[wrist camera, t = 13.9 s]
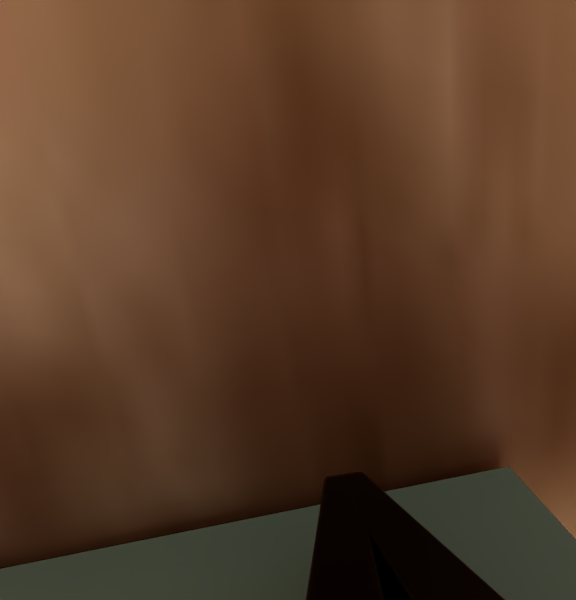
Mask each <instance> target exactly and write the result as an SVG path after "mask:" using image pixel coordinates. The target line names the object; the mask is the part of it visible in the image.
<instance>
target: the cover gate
mask: <svg viewBox="0 0 576 600" xmlns="http://www.w3.org/2000/svg"><path fill="white" fill-rule="evenodd" d="M385 493H386V494H387V495H389V496H390V497H391V498H392V499H393V500H394V501H395V502H396V503H398V504H399V505H400V506H401V507H402V508H403V509H404V510H405V511H406V512H408V513H409V514H410V515H411V516H412V517H413V518H414V519H415V520H417V521H418V522H419V523H420V524H421V525H422V526H423V527H424V528H426V529H427V530H428V531H429V532H430V533H431V534H432V535H433V536H434V537H436V538H437V539H438V540H439V541H440V542H441V543H442V544H443V545H445V546H446V547H447V548H448V549H449V550H450V551H451V552H452V553H453V554H455V555H456V556H457V557H458V558H459V559H460V560H461V561H462V562H464V563H465V564H466V565H467V566H468V567H469V568H470V569H471V570H472V571H474V572H475V573H476V574H477V575H478V576H479V577H480V578H481V579H483V580H484V581H485V582H486V583H487V584H488V585H489V586H490V587H492V588H493V589H494V590H495V591H496V592H497V593H498V594H499V595H500V596H502V597H503V598H504V599H505V600H576V539H575V538H574V537H573V536H572V535H571V534H570V533H569V532H568V530H567V529H566V528H565V527H564V526H563V525H562V524H561V523H560V522H559V521H558V520H557V518H556V517H555V516H554V515H553V514H552V513H551V512H550V511H549V510H548V509H547V507H546V506H545V505H544V504H543V503H542V502H541V501H540V500H539V499H538V498H537V497H536V495H535V494H534V493H533V492H532V491H531V490H530V489H529V488H528V487H527V486H526V484H525V483H524V482H523V481H522V480H521V479H520V478H519V477H518V476H517V475H516V474H515V472H514V471H513V470H512V469H511V468H510V467H504V468H499V469H494V470H489V471H484V472H479V473H474V474H469V475H464V476H459V477H454V478H449V479H444V480H439V481H434V482H429V483H424V484H419V485H414V486H409V487H405V488H400V489H395V490H390V491H385ZM319 511H320V505H315V506H310V507H305V508H300V509H295V510H290V511H285V512H280V513H275V514H270V515H265V516H260V517H255V518H250V519H245V520H240V521H235V522H230V523H226V524H221V525H216V526H211V527H206V528H201V529H196V530H191V531H186V532H181V533H176V534H171V535H166V536H161V537H156V538H151V539H146V540H141V541H136V542H131V543H126V544H121V545H116V546H111V547H106V548H101V549H96V550H91V551H86V552H81V553H76V554H71V555H66V556H61V557H56V558H52V559H47V560H42V561H37V562H32V563H27V564H22V565H17V566H12V567H7V568H2V569H0V600H306V594H307V588H308V581H309V575H310V568H311V562H312V556H313V549H314V543H315V536H316V530H317V523H318V517H319Z"/></svg>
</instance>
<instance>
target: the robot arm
mask: <svg viewBox="0 0 576 600" xmlns="http://www.w3.org/2000/svg"><path fill="white" fill-rule="evenodd" d="M306 600H505V599H504V598H503V597H502V596H500V595H499V594H498V593H497V592H496V591H495V590H494V589H493V588H492V587H490V586H489V585H488V584H487V583H486V582H485V581H484V580H483V579H481V578H480V577H479V576H478V575H477V574H476V573H475V572H474V571H472V570H471V569H470V568H469V567H468V566H467V565H466V564H465V563H464V562H462V561H461V560H460V559H459V558H458V557H457V556H456V555H455V554H453V553H452V552H451V551H450V550H449V549H448V548H447V547H446V546H445V545H443V544H442V543H441V542H440V541H439V540H438V539H437V538H436V537H434V536H433V535H432V534H431V533H430V532H429V531H428V530H427V529H426V528H424V527H423V526H422V525H421V524H420V523H419V522H418V521H417V520H415V519H414V518H413V517H412V516H411V515H410V514H409V513H408V512H406V511H405V510H404V509H403V508H402V507H401V506H400V505H399V504H398V503H396V502H395V501H394V500H393V499H392V498H391V497H390V496H389V495H387V494H386V493H385V492H384V491H383V490H382V489H381V488H380V487H379V486H377V485H376V484H375V483H374V482H373V481H372V480H371V479H370V478H368V477H367V476H366V475H365V474H364V473H362V472H354V473H347V474H340V475H333V476H327V477H326V478H325V479H324V485H323V491H322V498H321V504H320V511H319V517H318V523H317V530H316V536H315V543H314V549H313V556H312V562H311V568H310V575H309V581H308V588H307V594H306Z"/></svg>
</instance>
